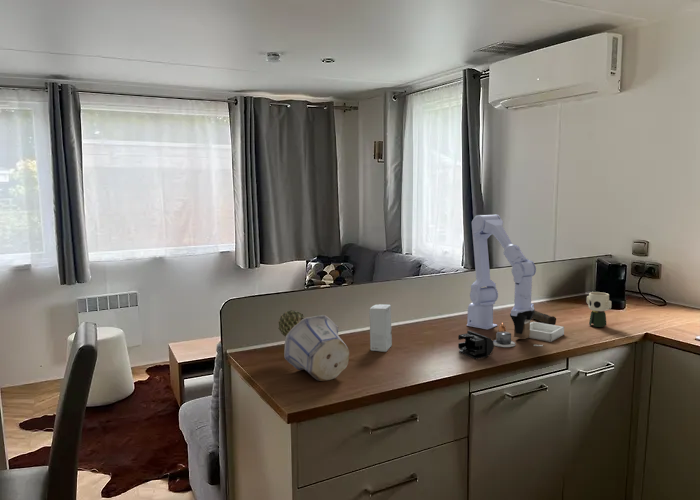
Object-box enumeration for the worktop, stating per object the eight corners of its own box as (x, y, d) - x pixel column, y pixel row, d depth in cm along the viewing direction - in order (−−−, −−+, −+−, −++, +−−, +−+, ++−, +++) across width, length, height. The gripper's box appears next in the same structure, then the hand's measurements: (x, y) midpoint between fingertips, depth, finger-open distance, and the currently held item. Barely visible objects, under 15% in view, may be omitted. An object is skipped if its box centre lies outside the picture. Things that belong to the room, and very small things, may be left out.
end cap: (494, 356, 173) (494, 336, 173) (476, 360, 170) (476, 339, 170) (474, 348, 182) (474, 329, 182) (457, 351, 179) (457, 332, 178)
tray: (518, 335, 196) (518, 327, 196) (532, 329, 205) (532, 321, 205) (550, 341, 188) (551, 333, 188) (563, 334, 197) (564, 326, 197)
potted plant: (361, 329, 154) (312, 289, 177) (305, 342, 145) (262, 298, 168) (356, 381, 160) (309, 336, 183) (302, 397, 151) (261, 347, 174)
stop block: (513, 336, 192) (514, 320, 191) (518, 334, 195) (519, 318, 194) (524, 339, 189) (525, 322, 188) (529, 336, 192) (530, 320, 191)
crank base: (492, 346, 184) (492, 345, 184) (491, 340, 191) (491, 338, 191) (544, 349, 180) (544, 347, 180) (541, 342, 188) (541, 341, 188)
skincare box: (386, 352, 179) (386, 309, 178) (369, 351, 181) (368, 308, 179) (392, 345, 187) (391, 303, 185) (375, 344, 189) (375, 302, 187)
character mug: (579, 324, 211) (580, 292, 210) (592, 322, 215) (593, 290, 213) (603, 330, 202) (605, 297, 200) (616, 328, 205) (617, 295, 203)
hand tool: (556, 326, 210) (557, 314, 210) (547, 326, 209) (548, 315, 209) (529, 315, 228) (529, 304, 228) (520, 316, 227) (521, 305, 227)
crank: (511, 344, 184) (511, 331, 183) (496, 343, 185) (496, 330, 184) (508, 334, 196) (509, 322, 195) (494, 333, 197) (495, 321, 196)
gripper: (524, 299, 182) (523, 338, 183) (542, 293, 192) (541, 329, 194) (505, 296, 187) (504, 334, 188) (523, 290, 197) (522, 326, 199)
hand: (521, 331), depth 191 cm, fingers closed on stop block, 4 cm apart
